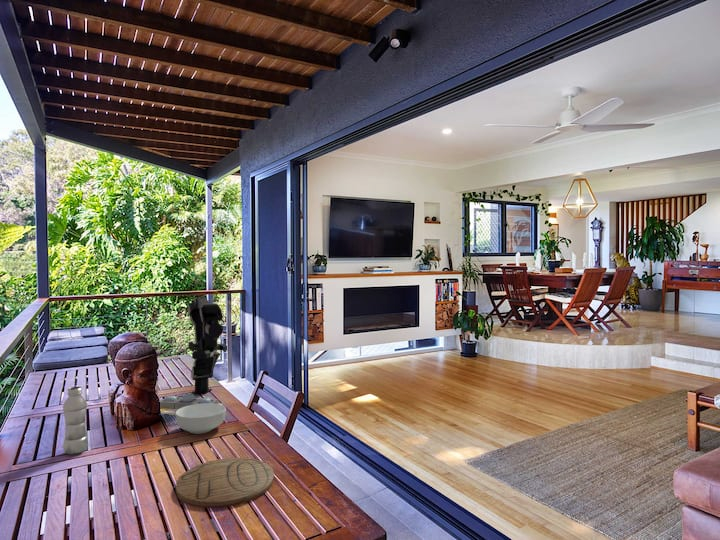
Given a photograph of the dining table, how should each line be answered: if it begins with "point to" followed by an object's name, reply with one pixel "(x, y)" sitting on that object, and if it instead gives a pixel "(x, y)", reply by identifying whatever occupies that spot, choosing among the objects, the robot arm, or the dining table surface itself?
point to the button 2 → (188, 398)
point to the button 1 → (171, 398)
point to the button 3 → (205, 400)
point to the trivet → (224, 482)
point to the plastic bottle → (75, 422)
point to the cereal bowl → (200, 417)
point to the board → (178, 405)
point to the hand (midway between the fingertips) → (210, 371)
